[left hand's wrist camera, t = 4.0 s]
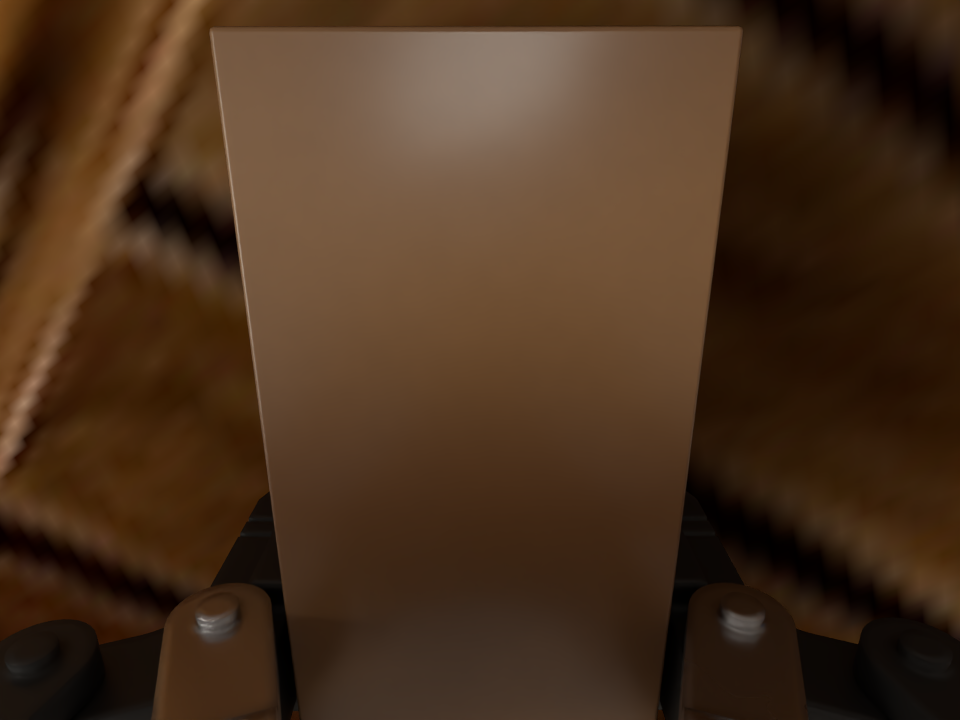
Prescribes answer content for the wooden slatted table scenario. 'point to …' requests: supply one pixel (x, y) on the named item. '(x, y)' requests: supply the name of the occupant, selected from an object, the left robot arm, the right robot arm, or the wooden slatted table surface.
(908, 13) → the wooden slatted table surface
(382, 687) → the post
